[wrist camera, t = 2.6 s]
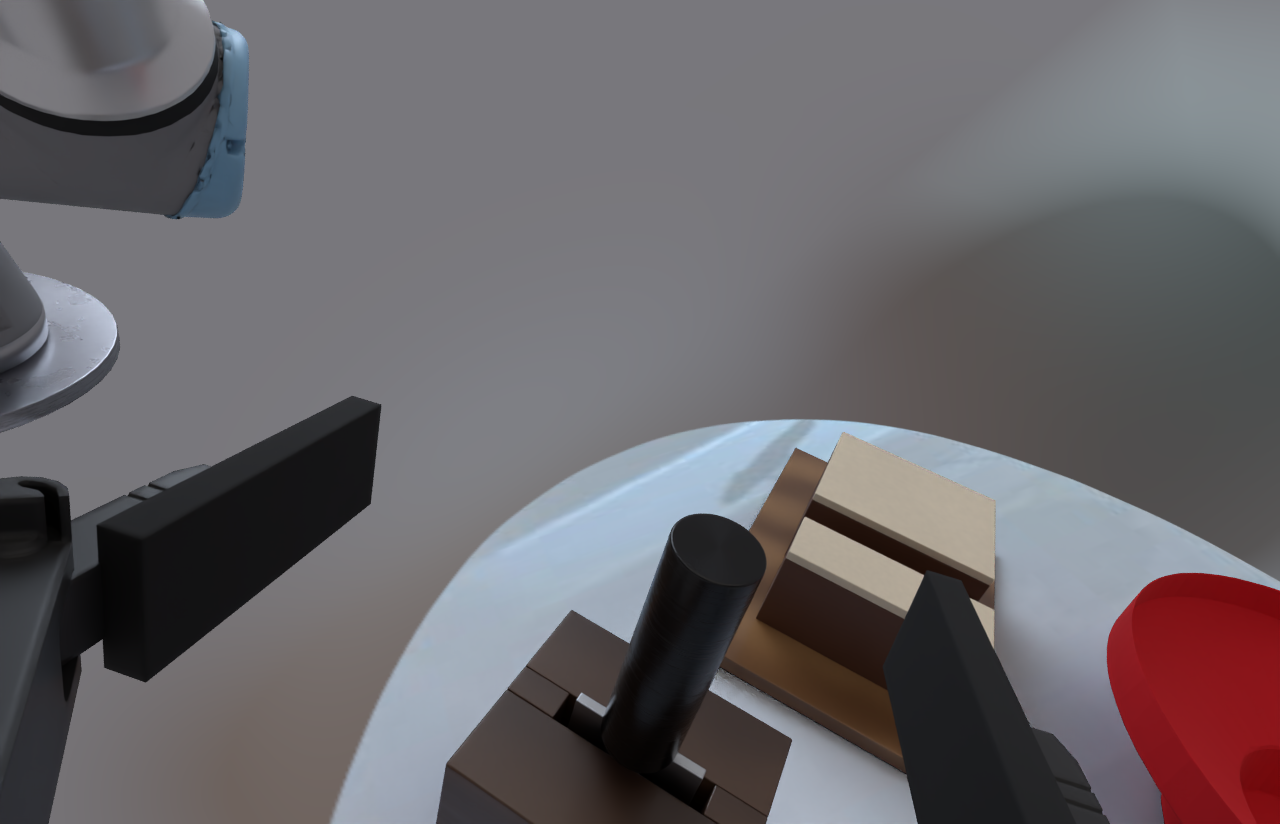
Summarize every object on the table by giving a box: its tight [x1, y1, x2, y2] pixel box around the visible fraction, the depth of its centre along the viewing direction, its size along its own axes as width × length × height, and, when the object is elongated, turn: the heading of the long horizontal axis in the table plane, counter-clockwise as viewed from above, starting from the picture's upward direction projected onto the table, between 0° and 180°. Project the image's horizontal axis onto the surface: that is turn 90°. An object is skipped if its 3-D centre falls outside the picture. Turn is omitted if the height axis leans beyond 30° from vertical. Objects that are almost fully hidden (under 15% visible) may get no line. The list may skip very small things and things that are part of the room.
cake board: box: [720, 448, 995, 774], centre depth 49 cm, size 26×18×1 cm
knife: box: [567, 514, 767, 806], centre depth 24 cm, size 3×5×19 cm, turn 64°
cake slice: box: [756, 517, 995, 690], centre depth 42 cm, size 4×12×6 cm, turn 64°
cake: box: [785, 432, 995, 602], centre depth 50 cm, size 10×12×6 cm
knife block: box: [436, 610, 792, 824], centre depth 27 cm, size 8×10×10 cm
